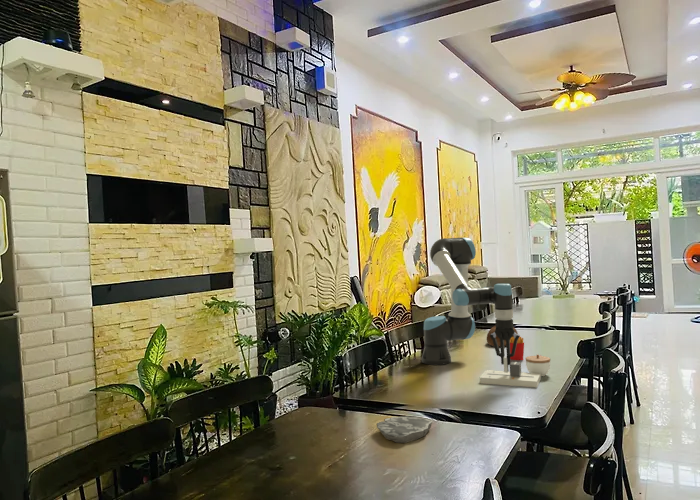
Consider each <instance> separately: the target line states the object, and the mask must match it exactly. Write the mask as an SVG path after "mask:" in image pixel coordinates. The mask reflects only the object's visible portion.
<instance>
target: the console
mask: <svg viewBox="0 0 700 500" xmlns="http://www.w3.org/2000/svg"><path fill="white" fill-rule="evenodd" d="M541 379H542V377H541V374H540V373H530V372H524V371H523V372H522V371H521V375H520V376H510V371H508V373H504V370H490V369H486V370H484V372H483V373H482V374H481V375H480V376H479V384H487V385H496V386H497V385H499V386H500V385H501V386H512V387H528V388H538V387H539V384H540V382H541Z"/></svg>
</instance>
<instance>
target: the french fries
mask: <svg viewBox="0 0 700 500" xmlns="http://www.w3.org/2000/svg"><path fill="white" fill-rule="evenodd" d="M514 339H515V338H514V337H511V339H510V354H511V352H512V348H513V343H514ZM524 351H525V342H524V337H522V336H520V337H519V338H518V341H517V346H516V350H515V355H514V356H513V357H510V360H511V361H523V360H524V356H525V355H524V354H525V353H524Z"/></svg>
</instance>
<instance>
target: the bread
mask: <svg viewBox="0 0 700 500" xmlns="http://www.w3.org/2000/svg"><path fill="white" fill-rule="evenodd" d="M495 329H496V325H494V326H492V327H491V328H490V329H489V330H488V332H487V334H486V343H487V344H488V345H489V346H491V347H494V344H493V340H492V339H491V337H490V335H491V334H493V333H494V332H495ZM513 329H514V331H515V333H516V334H519V333H518V331H517V329H516V328H515V327H514V326H513ZM512 337H514V335H513V336H512ZM496 340H497V343H498V347H500V339H499V338H498V336H497V335H496ZM504 347H506V340H504Z"/></svg>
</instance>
